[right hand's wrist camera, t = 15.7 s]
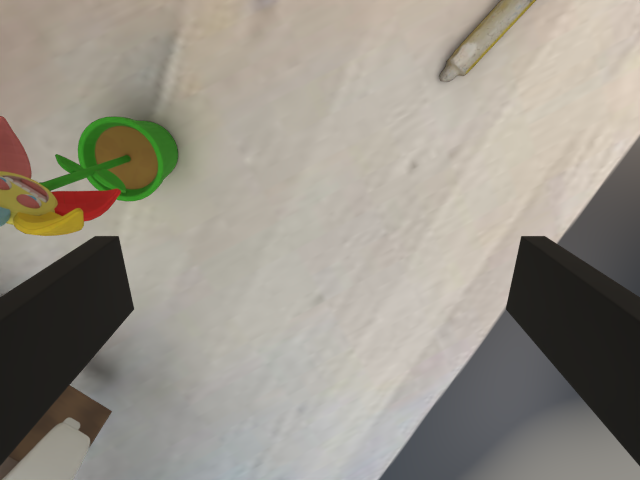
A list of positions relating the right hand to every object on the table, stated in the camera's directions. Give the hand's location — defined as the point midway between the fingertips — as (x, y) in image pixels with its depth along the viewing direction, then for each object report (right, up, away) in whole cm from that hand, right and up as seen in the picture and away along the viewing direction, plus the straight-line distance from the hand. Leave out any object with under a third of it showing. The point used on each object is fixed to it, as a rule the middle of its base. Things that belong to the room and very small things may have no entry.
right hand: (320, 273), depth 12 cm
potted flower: (-19, +11, +29) cm, 36 cm away
